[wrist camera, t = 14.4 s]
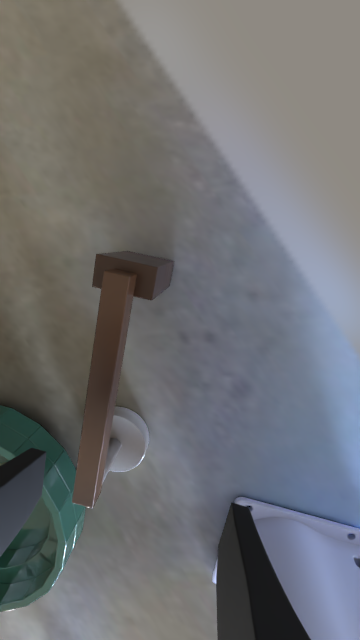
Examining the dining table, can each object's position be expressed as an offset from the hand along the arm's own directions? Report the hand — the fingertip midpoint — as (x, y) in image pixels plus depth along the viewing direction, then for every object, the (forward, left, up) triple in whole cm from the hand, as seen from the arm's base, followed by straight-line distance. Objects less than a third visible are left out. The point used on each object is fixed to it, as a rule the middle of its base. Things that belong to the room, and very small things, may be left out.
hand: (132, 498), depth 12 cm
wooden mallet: (+3, 0, -10) cm, 10 cm away
